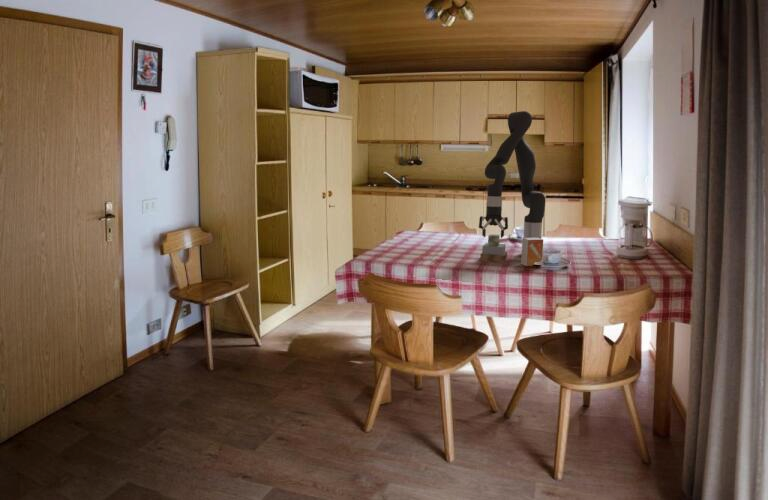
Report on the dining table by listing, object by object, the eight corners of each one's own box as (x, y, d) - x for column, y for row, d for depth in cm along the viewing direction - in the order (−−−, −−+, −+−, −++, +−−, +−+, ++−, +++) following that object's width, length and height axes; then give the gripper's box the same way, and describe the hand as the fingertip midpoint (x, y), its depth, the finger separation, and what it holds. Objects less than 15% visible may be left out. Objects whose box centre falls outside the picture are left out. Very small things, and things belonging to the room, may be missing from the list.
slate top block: (505, 251, 309) (505, 244, 308) (502, 255, 300) (502, 247, 299) (485, 250, 312) (486, 242, 311) (482, 253, 303) (482, 246, 302)
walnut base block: (507, 259, 310) (507, 251, 309) (504, 263, 299) (504, 255, 298) (483, 257, 314) (483, 250, 313) (480, 262, 302) (480, 254, 302)
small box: (526, 266, 290) (528, 239, 288) (520, 264, 296) (522, 237, 294) (542, 265, 292) (543, 239, 290) (536, 263, 298) (537, 237, 296)
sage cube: (499, 244, 307) (499, 234, 306) (498, 246, 302) (498, 236, 301) (489, 244, 308) (489, 234, 307) (488, 245, 303) (488, 235, 302)
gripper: (509, 204, 303) (508, 236, 306) (480, 203, 307) (479, 235, 310) (507, 206, 296) (506, 239, 299) (478, 205, 300) (477, 237, 303)
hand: (493, 237), depth 304 cm, fingers open, 8 cm apart
